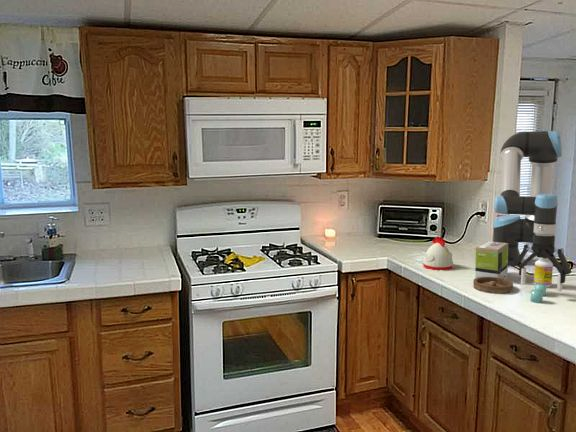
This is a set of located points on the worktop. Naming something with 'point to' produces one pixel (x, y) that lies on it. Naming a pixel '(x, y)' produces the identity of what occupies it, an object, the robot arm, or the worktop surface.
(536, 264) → the supplement bottle
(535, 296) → the teal bead
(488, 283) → the walnut tray
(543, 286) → the teal bead
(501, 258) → the tea box
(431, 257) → the kitchen timer
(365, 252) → the worktop surface
